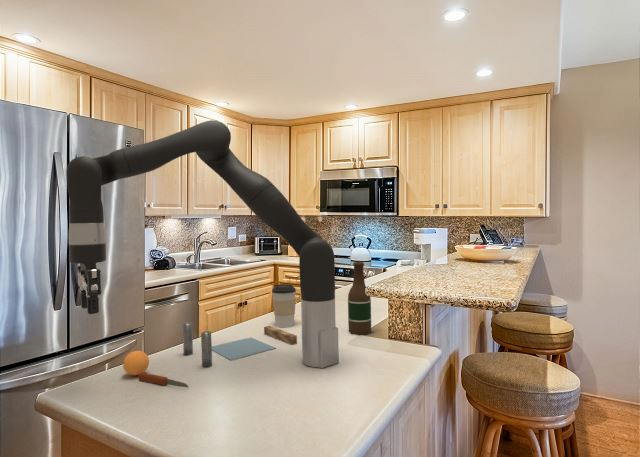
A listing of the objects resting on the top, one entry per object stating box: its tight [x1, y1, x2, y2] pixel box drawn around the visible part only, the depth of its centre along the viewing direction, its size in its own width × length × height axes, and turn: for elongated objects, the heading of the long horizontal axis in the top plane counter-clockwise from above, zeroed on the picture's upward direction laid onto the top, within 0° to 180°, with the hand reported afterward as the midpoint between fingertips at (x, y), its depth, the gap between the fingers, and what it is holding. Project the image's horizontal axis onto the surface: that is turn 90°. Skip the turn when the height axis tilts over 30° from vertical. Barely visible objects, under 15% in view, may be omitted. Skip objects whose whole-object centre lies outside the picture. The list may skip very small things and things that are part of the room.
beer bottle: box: [347, 261, 372, 336], centre depth 134 cm, size 8×8×24 cm
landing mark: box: [212, 336, 277, 361], centre depth 120 cm, size 15×15×1 cm
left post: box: [182, 321, 194, 356], centre depth 116 cm, size 3×3×9 cm
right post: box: [200, 330, 213, 368], centre depth 106 cm, size 3×3×9 cm
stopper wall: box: [263, 325, 298, 346], centre depth 129 cm, size 16×2×2 cm, turn 40°
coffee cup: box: [271, 283, 297, 328], centre depth 146 cm, size 9×9×15 cm
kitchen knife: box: [137, 372, 189, 388], centre depth 94 cm, size 16×1×2 cm, turn 65°
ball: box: [122, 350, 150, 376], centre depth 100 cm, size 6×6×6 cm
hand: (89, 310), depth 94 cm, fingers open, 8 cm apart
